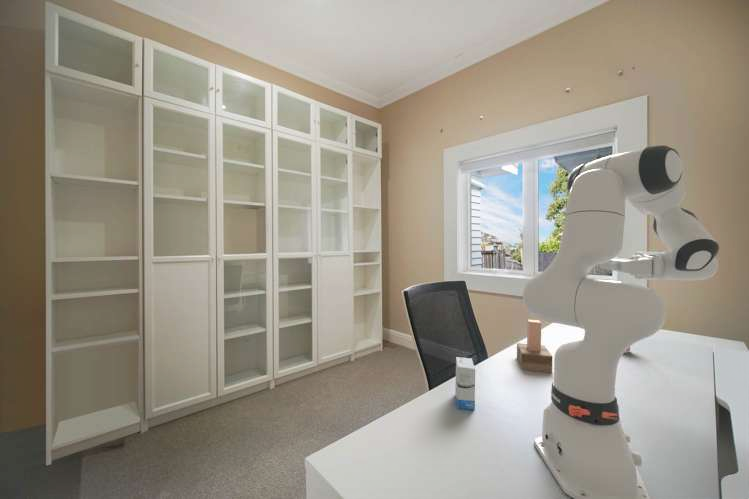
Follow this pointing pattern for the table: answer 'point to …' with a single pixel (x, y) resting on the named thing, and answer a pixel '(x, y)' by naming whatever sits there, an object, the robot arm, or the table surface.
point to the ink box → (465, 383)
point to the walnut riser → (534, 359)
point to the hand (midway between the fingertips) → (593, 264)
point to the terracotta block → (534, 335)
